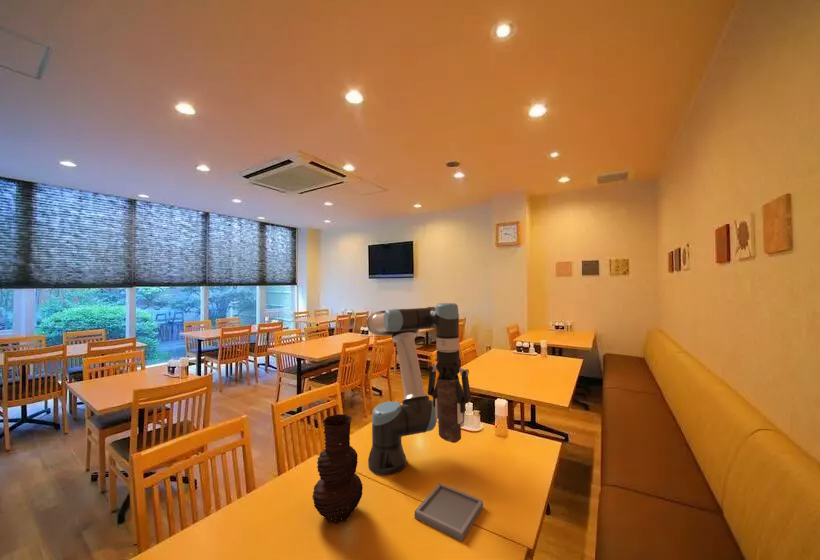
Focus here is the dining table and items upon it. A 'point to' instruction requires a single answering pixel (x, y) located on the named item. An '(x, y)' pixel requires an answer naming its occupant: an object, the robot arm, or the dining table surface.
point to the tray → (449, 511)
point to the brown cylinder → (448, 410)
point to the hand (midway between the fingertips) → (449, 419)
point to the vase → (337, 472)
